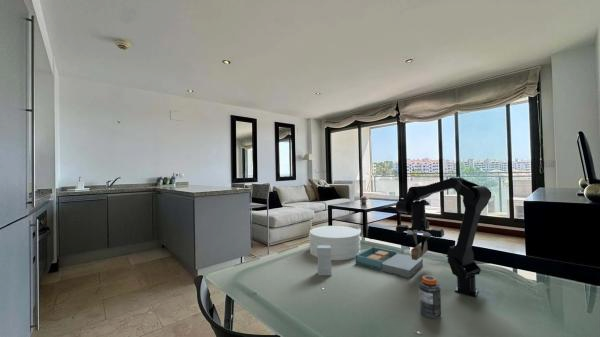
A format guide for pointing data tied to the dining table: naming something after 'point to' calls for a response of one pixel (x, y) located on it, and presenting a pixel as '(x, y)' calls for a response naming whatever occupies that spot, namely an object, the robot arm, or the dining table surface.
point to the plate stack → (336, 241)
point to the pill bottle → (430, 297)
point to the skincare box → (324, 260)
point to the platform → (402, 265)
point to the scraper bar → (418, 251)
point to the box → (372, 263)
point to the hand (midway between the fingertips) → (419, 250)
